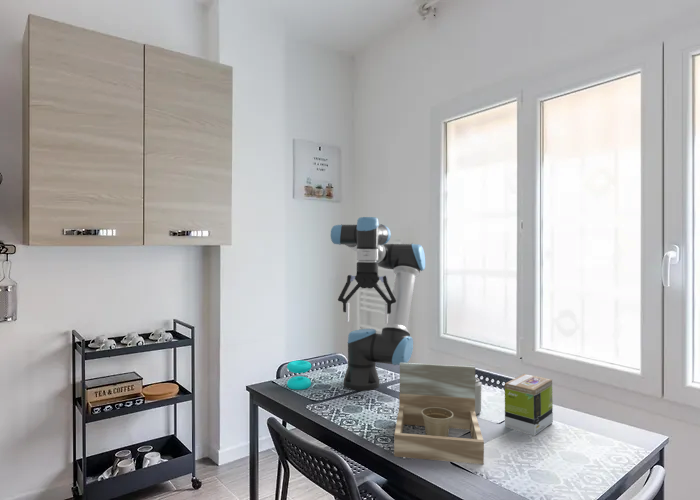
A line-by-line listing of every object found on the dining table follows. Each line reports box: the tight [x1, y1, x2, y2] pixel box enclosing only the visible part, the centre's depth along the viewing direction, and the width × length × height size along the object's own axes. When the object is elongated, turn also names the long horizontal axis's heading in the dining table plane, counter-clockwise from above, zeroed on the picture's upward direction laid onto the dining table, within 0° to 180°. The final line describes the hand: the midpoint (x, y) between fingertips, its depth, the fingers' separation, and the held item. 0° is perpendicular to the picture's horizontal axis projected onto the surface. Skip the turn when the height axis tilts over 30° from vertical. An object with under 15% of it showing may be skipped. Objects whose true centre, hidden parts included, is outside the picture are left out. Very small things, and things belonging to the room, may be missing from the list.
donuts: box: [286, 359, 312, 391], centre depth 182 cm, size 10×10×10 cm
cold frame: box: [393, 362, 485, 465], centre depth 132 cm, size 24×24×20 cm
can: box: [475, 376, 482, 416], centre depth 156 cm, size 8×8×12 cm
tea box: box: [504, 373, 554, 436], centre depth 145 cm, size 15×10×15 cm, turn 135°
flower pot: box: [421, 407, 453, 437], centre depth 132 cm, size 9×9×9 cm
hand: (366, 322), depth 154 cm, fingers open, 13 cm apart
